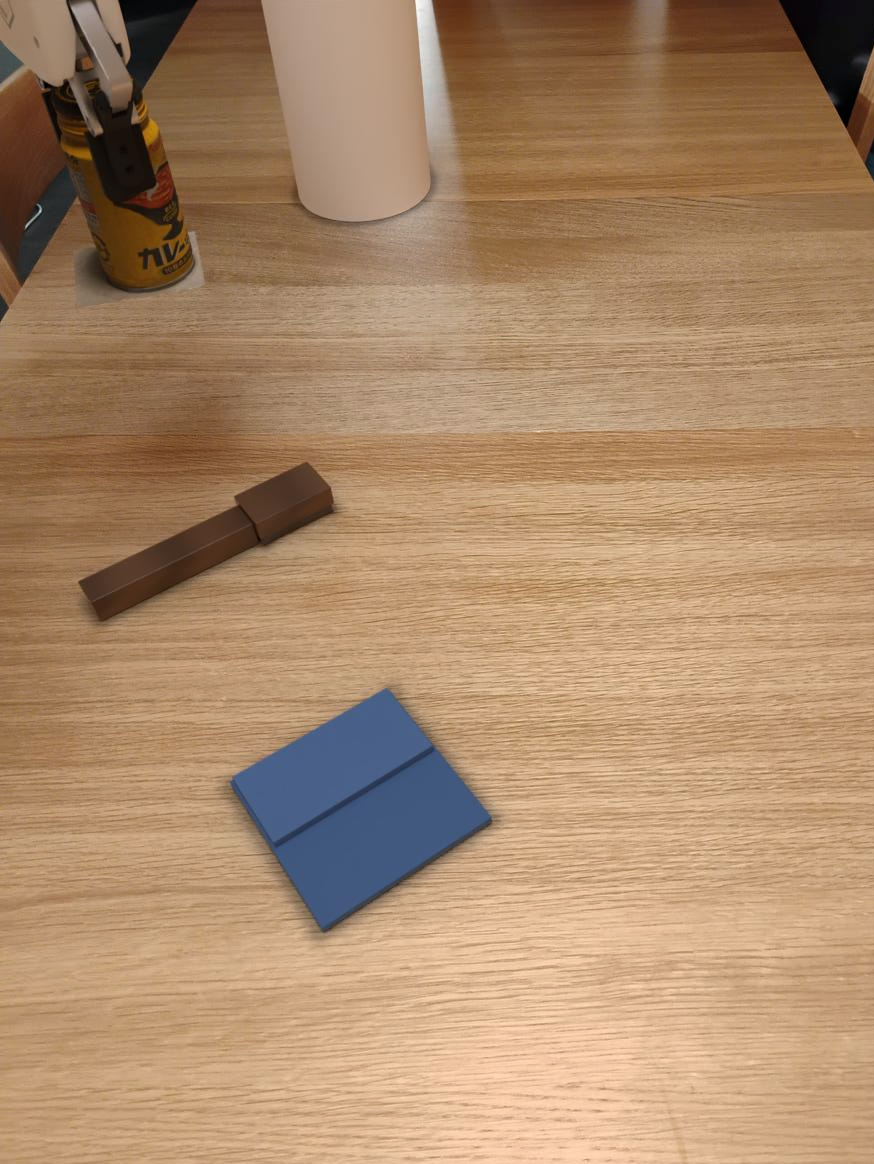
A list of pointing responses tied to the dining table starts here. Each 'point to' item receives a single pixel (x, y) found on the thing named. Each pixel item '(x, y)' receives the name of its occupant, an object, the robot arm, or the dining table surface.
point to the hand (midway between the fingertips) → (109, 169)
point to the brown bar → (212, 540)
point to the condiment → (126, 217)
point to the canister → (352, 104)
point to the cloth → (358, 806)
